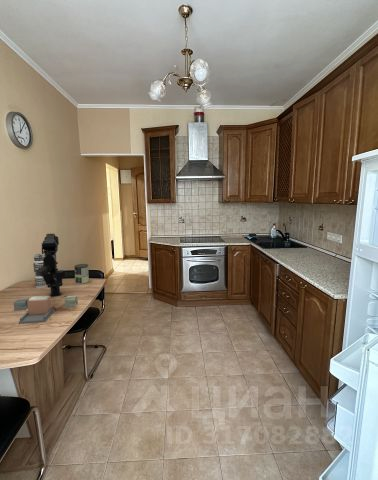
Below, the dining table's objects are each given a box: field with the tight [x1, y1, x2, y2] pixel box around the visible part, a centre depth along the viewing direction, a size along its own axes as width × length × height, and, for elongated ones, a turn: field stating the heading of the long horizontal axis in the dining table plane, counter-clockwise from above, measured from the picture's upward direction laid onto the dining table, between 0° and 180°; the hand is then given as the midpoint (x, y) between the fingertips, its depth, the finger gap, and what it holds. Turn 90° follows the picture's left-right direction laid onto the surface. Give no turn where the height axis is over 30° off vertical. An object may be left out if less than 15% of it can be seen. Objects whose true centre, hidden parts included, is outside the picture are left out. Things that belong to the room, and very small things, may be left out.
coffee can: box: [73, 263, 90, 285], centre depth 200 cm, size 10×10×14 cm
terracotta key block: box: [27, 295, 52, 315], centre depth 143 cm, size 6×10×9 cm, turn 100°
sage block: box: [63, 295, 78, 308], centre depth 156 cm, size 6×6×5 cm
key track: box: [18, 306, 56, 325], centre depth 141 cm, size 16×13×2 cm
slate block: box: [13, 297, 30, 312], centre depth 151 cm, size 6×6×5 cm
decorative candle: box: [32, 253, 48, 289], centre depth 189 cm, size 9×9×25 cm
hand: (52, 285), depth 152 cm, fingers open, 9 cm apart
